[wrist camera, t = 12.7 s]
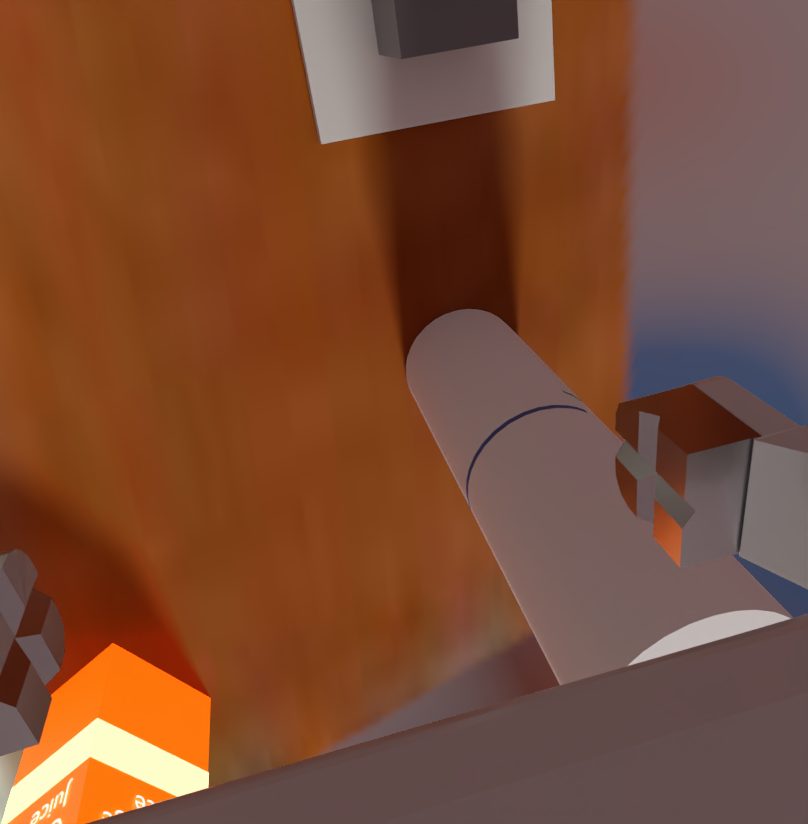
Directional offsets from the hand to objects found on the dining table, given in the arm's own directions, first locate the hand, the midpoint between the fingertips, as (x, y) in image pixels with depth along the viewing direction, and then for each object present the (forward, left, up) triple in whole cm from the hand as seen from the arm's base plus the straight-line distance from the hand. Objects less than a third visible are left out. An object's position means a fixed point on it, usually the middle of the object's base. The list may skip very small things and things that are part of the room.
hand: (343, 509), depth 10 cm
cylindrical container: (+9, -13, -29) cm, 33 cm away
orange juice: (-18, -33, -29) cm, 48 cm away
